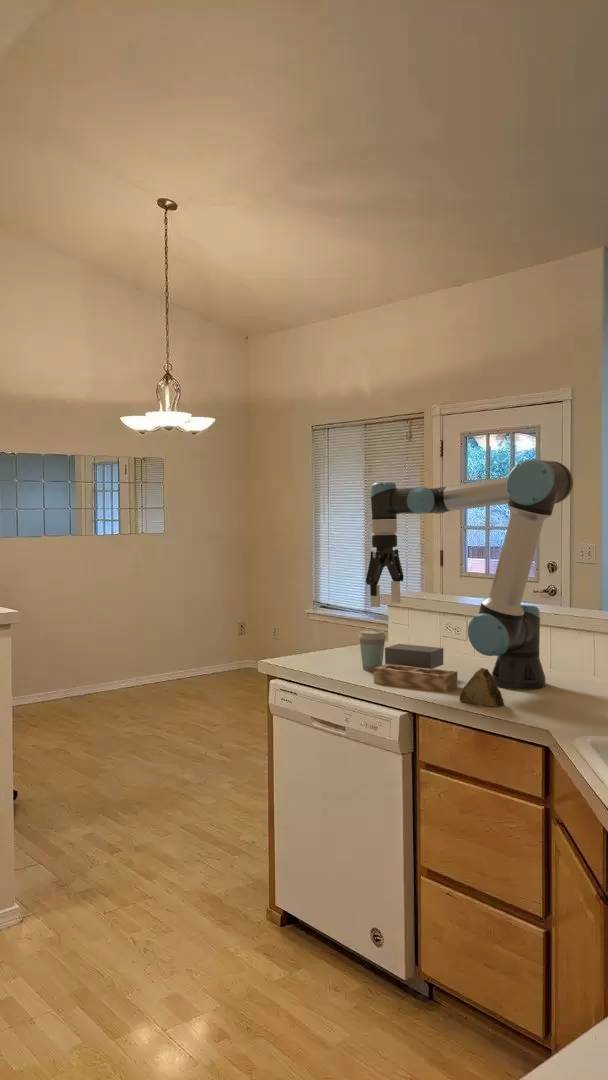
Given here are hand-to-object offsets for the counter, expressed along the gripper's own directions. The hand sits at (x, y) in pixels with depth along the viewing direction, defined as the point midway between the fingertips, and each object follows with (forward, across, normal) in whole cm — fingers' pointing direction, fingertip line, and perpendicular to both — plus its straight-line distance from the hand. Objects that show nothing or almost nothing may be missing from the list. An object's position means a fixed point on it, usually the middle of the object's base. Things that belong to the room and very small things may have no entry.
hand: (385, 604), depth 257 cm
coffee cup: (+22, -7, -9) cm, 24 cm away
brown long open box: (+22, +8, +13) cm, 27 cm away
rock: (+23, +19, +37) cm, 48 cm away
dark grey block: (+22, -3, +7) cm, 23 cm away
